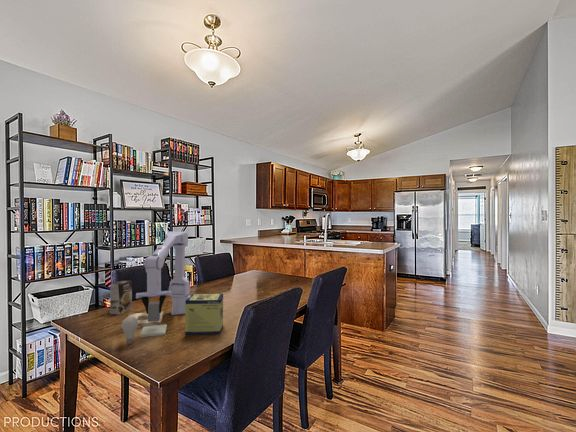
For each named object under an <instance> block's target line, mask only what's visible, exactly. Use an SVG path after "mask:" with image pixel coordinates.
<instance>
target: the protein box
mask: <svg viewBox="0 0 576 432" xmlns="http://www.w3.org/2000/svg"><path fill="white" fill-rule="evenodd" d="M189 295H190V296H189V298H188V299H187V300H186V304H185V314H184V315H185V323H184V326H185V327H184V335H185V336H196V335H197V336H202V335H203V336H205V335H209V334H214V335H220V334H221V332H222V329H223V327H224V293H199V294H198V293H192V294H189Z"/></svg>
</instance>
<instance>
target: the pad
mask: <svg viewBox="0 0 576 432" xmlns="http://www.w3.org/2000/svg"><path fill="white" fill-rule="evenodd" d="M167 327H168V325H167V324H166V323H165V324H161V325H156V326H146V327H142V330H141V332H140V335H139V337H140V338H146V337H155V336H164V335H166V331H167Z"/></svg>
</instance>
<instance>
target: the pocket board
mask: <svg viewBox="0 0 576 432" xmlns="http://www.w3.org/2000/svg"><path fill="white" fill-rule="evenodd" d="M127 317H134V318H136V319H137V321H138V326H137V328H136V329H141V328H142V329H143V327H146V326H156V325H162V321H163V317H164V311H162V310H161V313H160V319H159V321H151V322H148V314H147V312H139V313H137V312H136V313H129V314H128V315H127Z"/></svg>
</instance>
